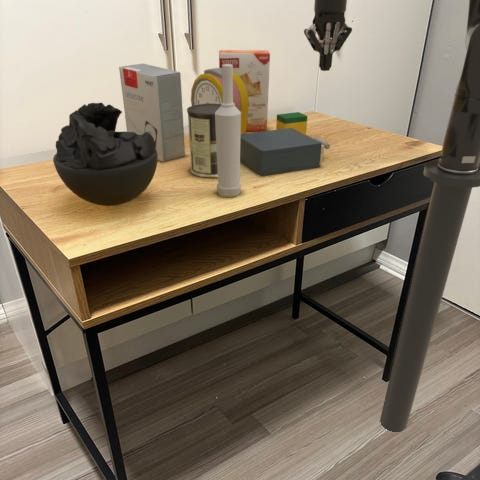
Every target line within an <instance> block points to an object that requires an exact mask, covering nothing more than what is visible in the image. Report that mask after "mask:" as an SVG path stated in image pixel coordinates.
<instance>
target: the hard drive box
mask: <svg viewBox="0 0 480 480" xmlns="http://www.w3.org/2000/svg"><path fill="white" fill-rule="evenodd" d="M118 69H119V75H120V76H119V77H120V84H121V85H120V86H121V93H122V94H121V95H122V101H123V109H124V119H125V127H126V132H135V133H136V134H138V135H142V134H144V133H145V132H149V133H150V134H151V135H152V137H153V138H154V144H155V149H156V150H157V153H158V159H157V161H160V162H162V163H164V162H169V161H171V160H175V159H178V158H182V157H185V156H186V145H185V143H186V142H185V130H184V129H185V127H184V126H185V125H184V111H183V110H184V109H183V94H182V93H183V91H182V75H181V72H180V71H178V70H173V69H168V68H164V67H160V66H157V65H151V64H147V63H137V64H131V65H121V66H119V67H118Z"/></svg>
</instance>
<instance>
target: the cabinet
mask: <svg viewBox="0 0 480 480" xmlns="http://www.w3.org/2000/svg"><path fill="white" fill-rule="evenodd" d="M321 146H322V143H321V142H319V141H317V140H315V139H314V138H313V137H311V136H309V135H307V134H306V135H305V134H303V133H301V132H299V131H297V130H295V129H293V128H286V129H278V130H276V129H271V130H267V131H253V132H245V134H241V137H240V163H242V164H244V165H245V166H246V167H248V168H249V169H251V170H252V171H254V172H255V173H257V174H258V175H259V176H261V177H265V176H271V175H277V174H285V173H291V172H297V171H304V170H309V169H315V168H320V166H321V162H320V158H321Z"/></svg>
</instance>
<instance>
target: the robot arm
mask: <svg viewBox="0 0 480 480" xmlns="http://www.w3.org/2000/svg"><path fill="white" fill-rule="evenodd" d="M347 4H348V0H314V6H313V11H314V17H313V19H312V24H311V25H310V26H309V27H308V28H304V29H303V33H304V36H305V37H306V39H307V42H308V43H309V45H310V46H311V48H312V50H313V51H314V52H317V53H319V61H318V67H319V69H320V71H323V72H328V71H330V69H331V68H332V64H333V54H334V53H335V52H338V51H340V50H341V48H342V47H343V46H344V44H345V42H346V41H347V39H348V38H349V36H350V34H351V33H352V32H353V28H352V27H351V26H349V25H348V24H347V23H346V18H345V12H346V11H347ZM467 11H468V12H467V22H466V30H465V39H464V45H465V50H466V53H465V57H464V63H463V66H462V70H461V72H460V73H461V74H460V77H459V79H458V81H457V82H456V86H455V91H454V95H453V99H452V104H451V108H450V112H449V117H448V122H447V125H446V130H445V135H444V138H443V139H444V140H443V144H442V147H441V152H440V157H439V159H440V160H439V163H438V168H439V169H440V170H442V171H444V172H447V173H451V174H457V175H470V174H475V173H476V172H477V171H478V170H480V0H468V10H467Z"/></svg>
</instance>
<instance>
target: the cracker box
mask: <svg viewBox="0 0 480 480" xmlns="http://www.w3.org/2000/svg"><path fill="white" fill-rule="evenodd" d="M270 61H271V53H270V51H269V50H267V49H264V50H261V49H259V50H257V49H256V50H255V49H219V50H218V68H221V69H222V65H224V64H231V65H233V72H234V73H236V74H238V76H239V77H240V78H241V80H242V81H243V82H244V85H245V88H246V90H247V93H248V101H249V108H248V116H247V124H246V132H262V131H268V114H269V113H268V111H269V110H268V109H269V88H270V65H271V64H270Z"/></svg>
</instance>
